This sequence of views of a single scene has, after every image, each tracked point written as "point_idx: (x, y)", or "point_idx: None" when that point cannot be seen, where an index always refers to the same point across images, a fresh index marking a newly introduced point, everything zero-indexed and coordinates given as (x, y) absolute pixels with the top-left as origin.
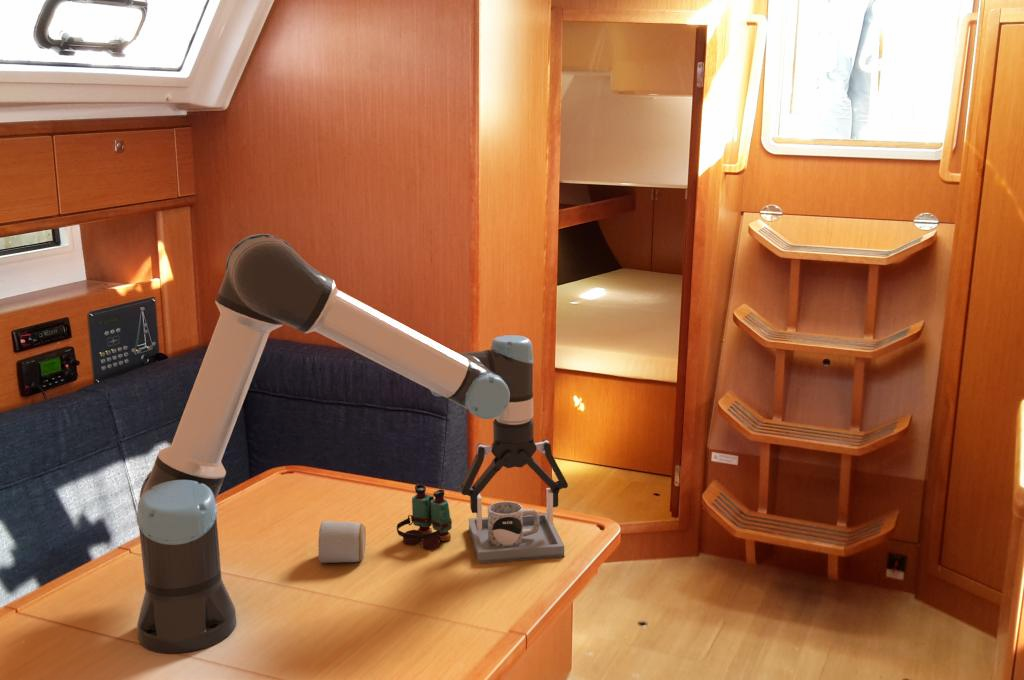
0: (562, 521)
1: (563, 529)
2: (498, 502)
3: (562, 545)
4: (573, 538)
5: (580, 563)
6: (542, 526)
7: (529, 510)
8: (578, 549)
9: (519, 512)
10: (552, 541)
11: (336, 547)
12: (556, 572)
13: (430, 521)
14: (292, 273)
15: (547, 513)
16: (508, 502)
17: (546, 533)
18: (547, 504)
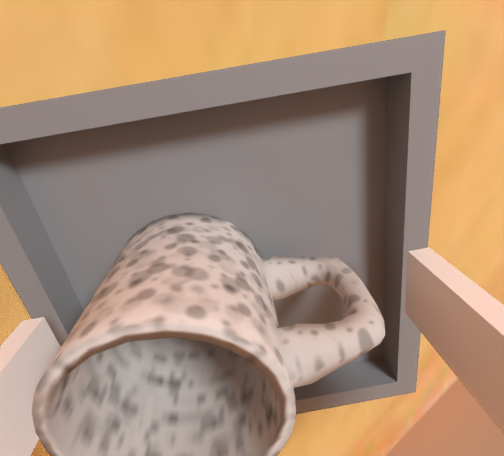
0: (487, 11)
1: (459, 126)
2: (96, 343)
3: (410, 389)
4: (469, 222)
5: (430, 387)
6: (368, 126)
7: (336, 364)
8: None
9: (271, 453)
10: (381, 282)
11: None
12: (351, 431)
13: None
14: None
15: (436, 306)
16: (184, 336)
17: (372, 211)
18: (480, 350)
